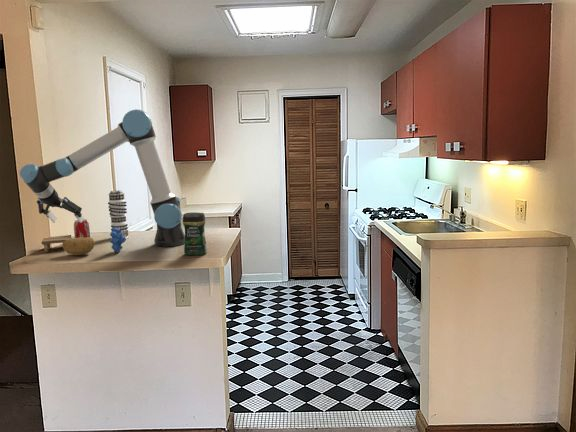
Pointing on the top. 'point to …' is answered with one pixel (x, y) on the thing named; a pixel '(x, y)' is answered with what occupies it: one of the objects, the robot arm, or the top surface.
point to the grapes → (117, 239)
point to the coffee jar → (194, 233)
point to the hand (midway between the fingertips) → (68, 220)
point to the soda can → (81, 229)
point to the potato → (78, 245)
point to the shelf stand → (54, 241)
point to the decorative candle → (118, 212)
